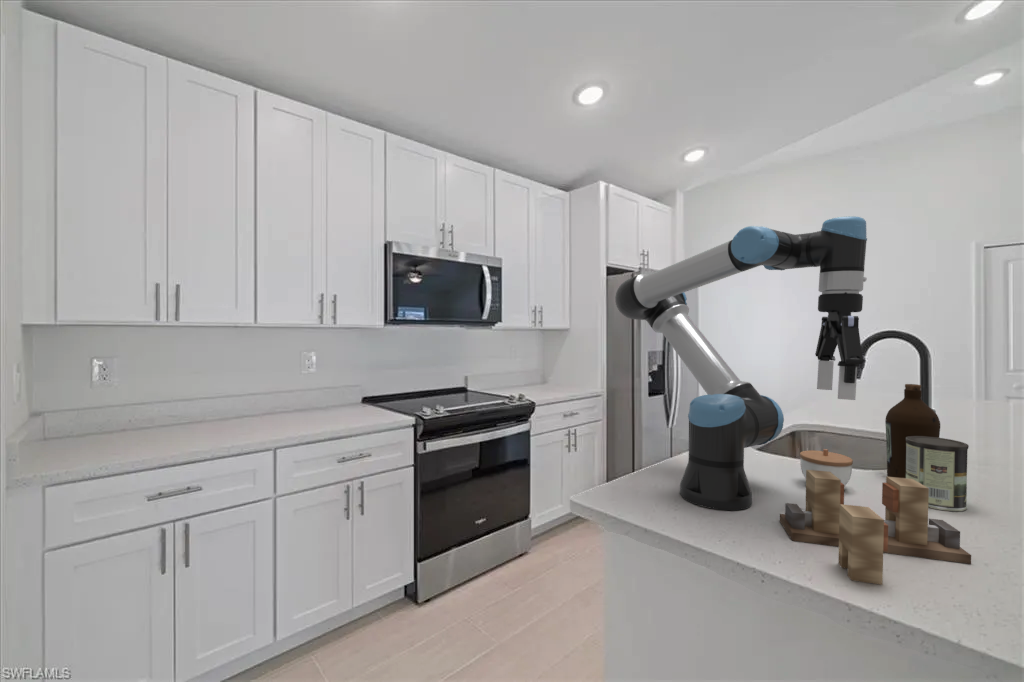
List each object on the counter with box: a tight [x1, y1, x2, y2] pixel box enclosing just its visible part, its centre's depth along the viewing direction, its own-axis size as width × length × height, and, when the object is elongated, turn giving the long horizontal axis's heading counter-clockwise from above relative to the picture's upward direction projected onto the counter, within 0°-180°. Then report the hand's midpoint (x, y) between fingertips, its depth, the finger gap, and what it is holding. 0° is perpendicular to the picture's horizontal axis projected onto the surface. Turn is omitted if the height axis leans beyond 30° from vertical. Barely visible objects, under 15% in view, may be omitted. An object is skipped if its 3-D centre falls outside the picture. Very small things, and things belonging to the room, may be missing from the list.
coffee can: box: [906, 436, 969, 512], centre depth 101 cm, size 10×10×14 cm
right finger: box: [881, 476, 929, 545], centre depth 81 cm, size 5×5×10 cm
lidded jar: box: [799, 448, 854, 487], centre depth 111 cm, size 11×11×9 cm
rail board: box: [779, 502, 972, 565], centre depth 83 cm, size 26×9×4 cm, turn 72°
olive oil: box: [884, 383, 941, 478], centre depth 116 cm, size 11×11×25 cm
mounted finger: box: [804, 470, 845, 534], centre depth 85 cm, size 5×5×10 cm
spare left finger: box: [837, 503, 888, 586], centre depth 71 cm, size 5×5×10 cm
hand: (834, 394), depth 94 cm, fingers open, 13 cm apart
